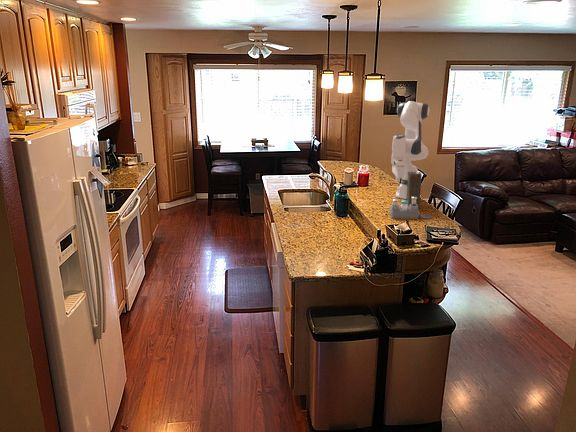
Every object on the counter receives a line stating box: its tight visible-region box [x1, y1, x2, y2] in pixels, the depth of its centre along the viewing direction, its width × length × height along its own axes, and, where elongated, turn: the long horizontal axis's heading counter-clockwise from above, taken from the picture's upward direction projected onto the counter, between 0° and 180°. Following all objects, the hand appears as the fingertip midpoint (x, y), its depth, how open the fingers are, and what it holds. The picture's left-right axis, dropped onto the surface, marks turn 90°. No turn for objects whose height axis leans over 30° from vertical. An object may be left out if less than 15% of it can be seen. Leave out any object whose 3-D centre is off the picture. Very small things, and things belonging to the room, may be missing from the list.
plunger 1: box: [392, 198, 399, 206], centre depth 299 cm, size 4×4×6 cm
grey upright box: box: [405, 171, 423, 210], centre depth 319 cm, size 19×8×25 cm, turn 170°
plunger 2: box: [411, 196, 417, 206], centre depth 298 cm, size 4×4×6 cm
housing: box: [388, 203, 420, 220], centre depth 300 cm, size 10×17×8 cm, turn 88°
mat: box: [418, 214, 434, 220], centre depth 298 cm, size 8×8×1 cm
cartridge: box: [400, 199, 408, 210], centre depth 299 cm, size 5×5×10 cm
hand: (397, 182), depth 295 cm, fingers closed
